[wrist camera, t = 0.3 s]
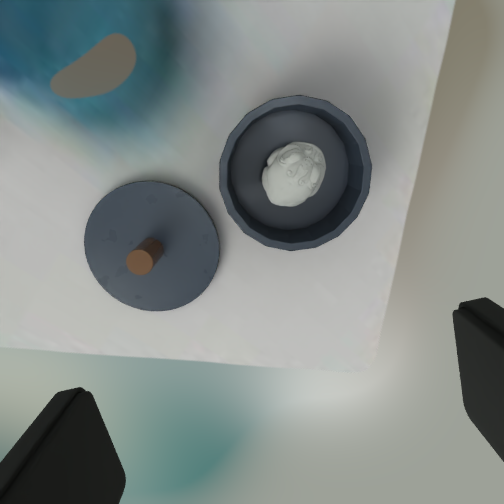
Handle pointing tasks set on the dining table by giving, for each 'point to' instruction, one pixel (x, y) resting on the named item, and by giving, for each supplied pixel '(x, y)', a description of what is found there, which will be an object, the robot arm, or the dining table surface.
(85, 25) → the dining table surface
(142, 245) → the lid
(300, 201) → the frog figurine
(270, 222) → the pot
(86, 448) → the robot arm
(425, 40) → the dining table surface
